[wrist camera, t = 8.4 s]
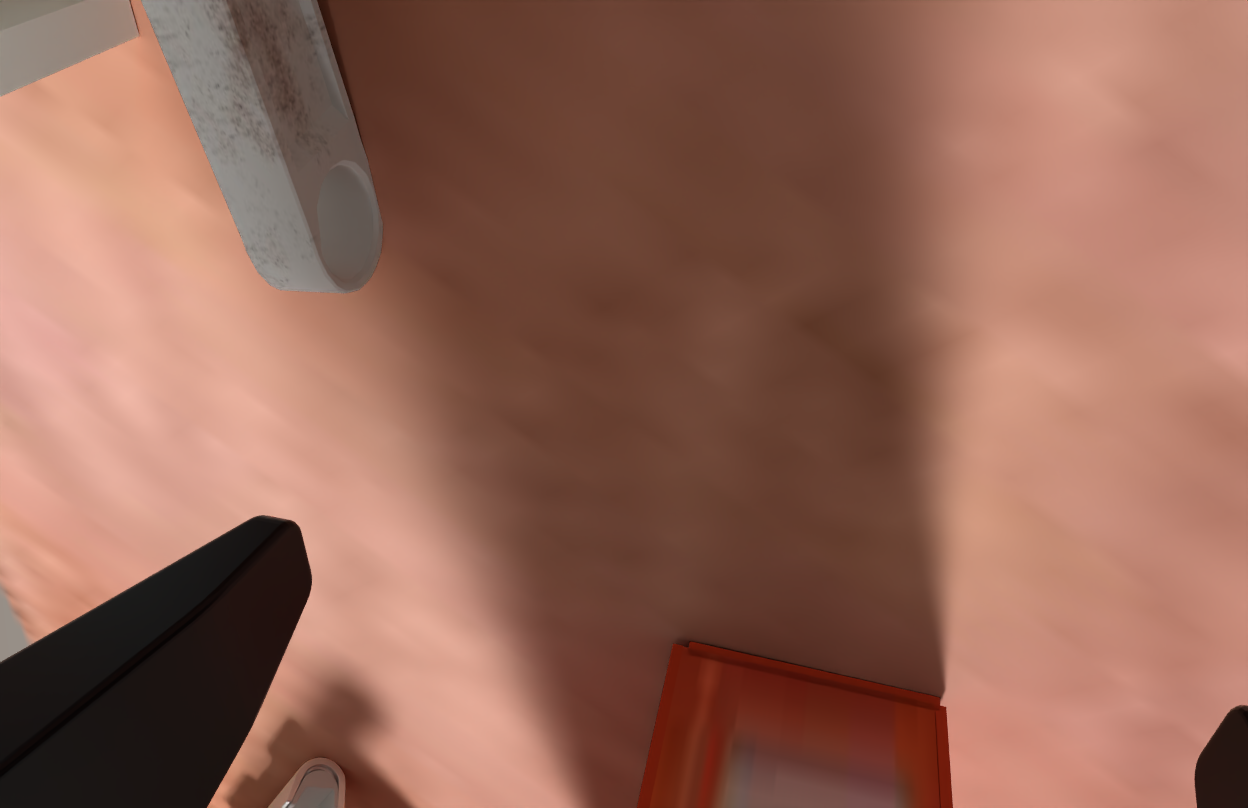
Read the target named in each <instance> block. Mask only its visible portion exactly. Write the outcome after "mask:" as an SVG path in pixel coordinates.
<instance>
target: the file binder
mask: <svg viewBox="0 0 1248 808" xmlns="http://www.w3.org/2000/svg"><path fill="white" fill-rule="evenodd" d="M637 808H953V803H952V788H951V773H950V758H949V743H948V728H947V713H946V707H943V706H940V697H936V696H931V695H927V694H922V693H918V692H913V691H909V690H904V689H900V688H896V687H891V686H887V685H882V684H878V683H873V682H869V681H864V680H860V679H855V678H851V677H847V676H842V675H838V674H833V673H829V672H824V671H820V670H815V669H811V668H807V667H802V666H798V665H793V664H789V663H784V662H780V661H775V660H771V659H766V658H762V657H758V656H753V655H749V654H744V653H740V652H735V651H731V650H726V649H722V648H717V647H713V646H709V645H704V644H700V643H695V642H691V641H690V643H689V648H687V647H683V645H678V644H674V643H673V646H672V650H671V655H670V659H669V664H668V669H667V673H666V678H665V682H664V687H663V691H662V696H661V700H660V705H659V709H658V714H657V718H656V723H655V727H654V732H653V737H652V741H651V746H650V750H649V755H648V759H647V764H646V768H645V773H644V777H643V782H642V786H641V791H640V795H639V800H638V805H637Z"/></svg>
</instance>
